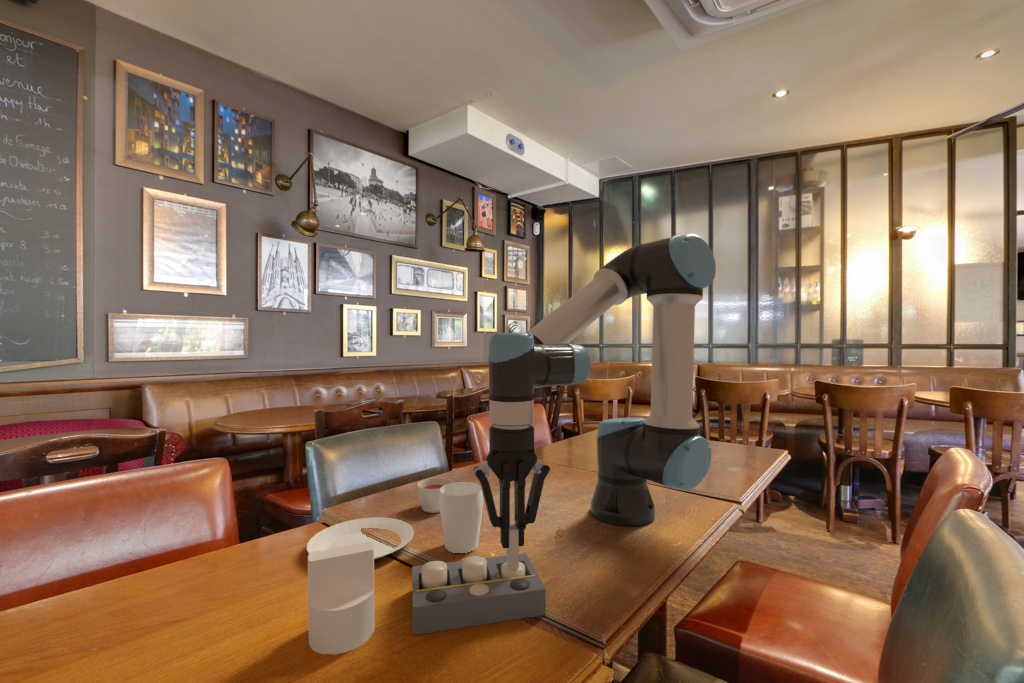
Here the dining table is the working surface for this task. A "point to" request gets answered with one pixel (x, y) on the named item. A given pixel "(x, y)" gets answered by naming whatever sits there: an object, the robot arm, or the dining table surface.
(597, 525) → the dining table surface
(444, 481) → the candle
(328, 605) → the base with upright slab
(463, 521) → the cup
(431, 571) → the button
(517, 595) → the board
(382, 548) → the plate
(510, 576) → the button
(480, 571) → the button
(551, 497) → the dining table surface
